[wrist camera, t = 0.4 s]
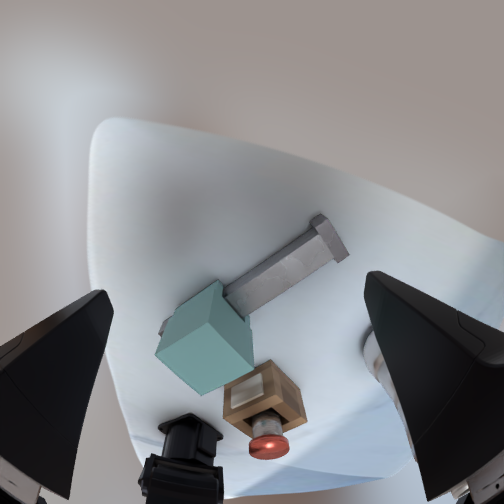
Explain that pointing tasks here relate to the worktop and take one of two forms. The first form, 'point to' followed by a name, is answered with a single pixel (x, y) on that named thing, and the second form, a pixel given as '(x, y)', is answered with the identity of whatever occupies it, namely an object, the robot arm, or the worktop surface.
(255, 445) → the button
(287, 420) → the brown button housing
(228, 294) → the rail
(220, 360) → the carriage
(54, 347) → the robot arm
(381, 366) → the plastic bottle
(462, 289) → the worktop surface
